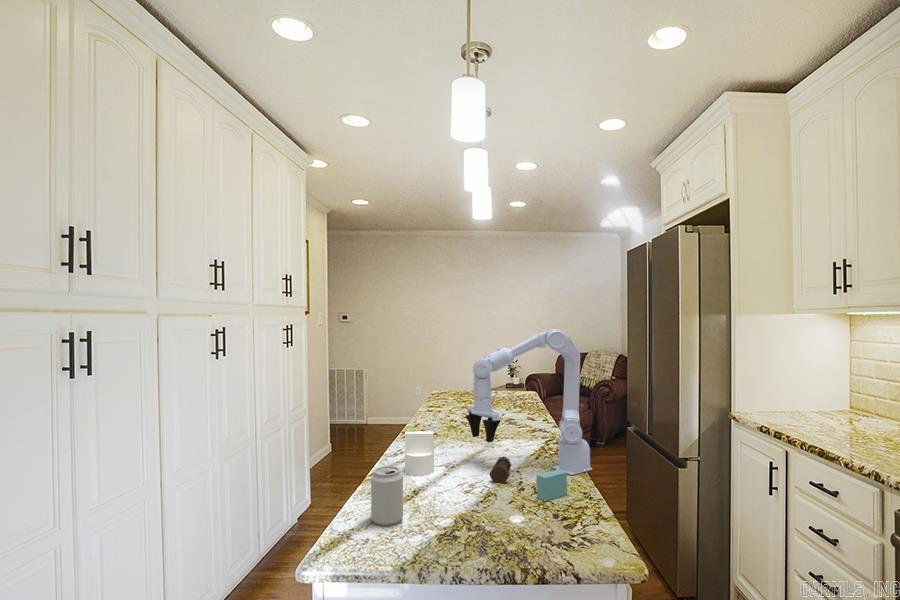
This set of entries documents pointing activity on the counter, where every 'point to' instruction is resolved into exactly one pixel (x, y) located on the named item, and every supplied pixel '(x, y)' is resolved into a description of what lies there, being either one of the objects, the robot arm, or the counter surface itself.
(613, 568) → the counter surface
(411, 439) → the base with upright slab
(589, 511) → the counter surface
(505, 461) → the bolt
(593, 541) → the counter surface
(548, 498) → the teal rectangular block
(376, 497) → the can
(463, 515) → the counter surface
